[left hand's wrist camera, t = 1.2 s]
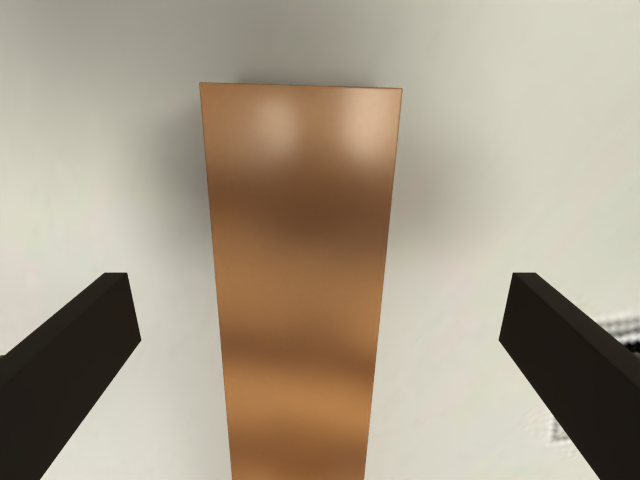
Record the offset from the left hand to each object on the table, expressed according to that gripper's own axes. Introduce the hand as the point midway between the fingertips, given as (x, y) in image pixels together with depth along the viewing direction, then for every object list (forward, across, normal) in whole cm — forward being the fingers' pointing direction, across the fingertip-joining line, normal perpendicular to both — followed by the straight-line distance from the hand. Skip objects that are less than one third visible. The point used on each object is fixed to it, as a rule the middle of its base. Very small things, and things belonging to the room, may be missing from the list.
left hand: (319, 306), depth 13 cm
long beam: (+13, -2, -25) cm, 28 cm away
